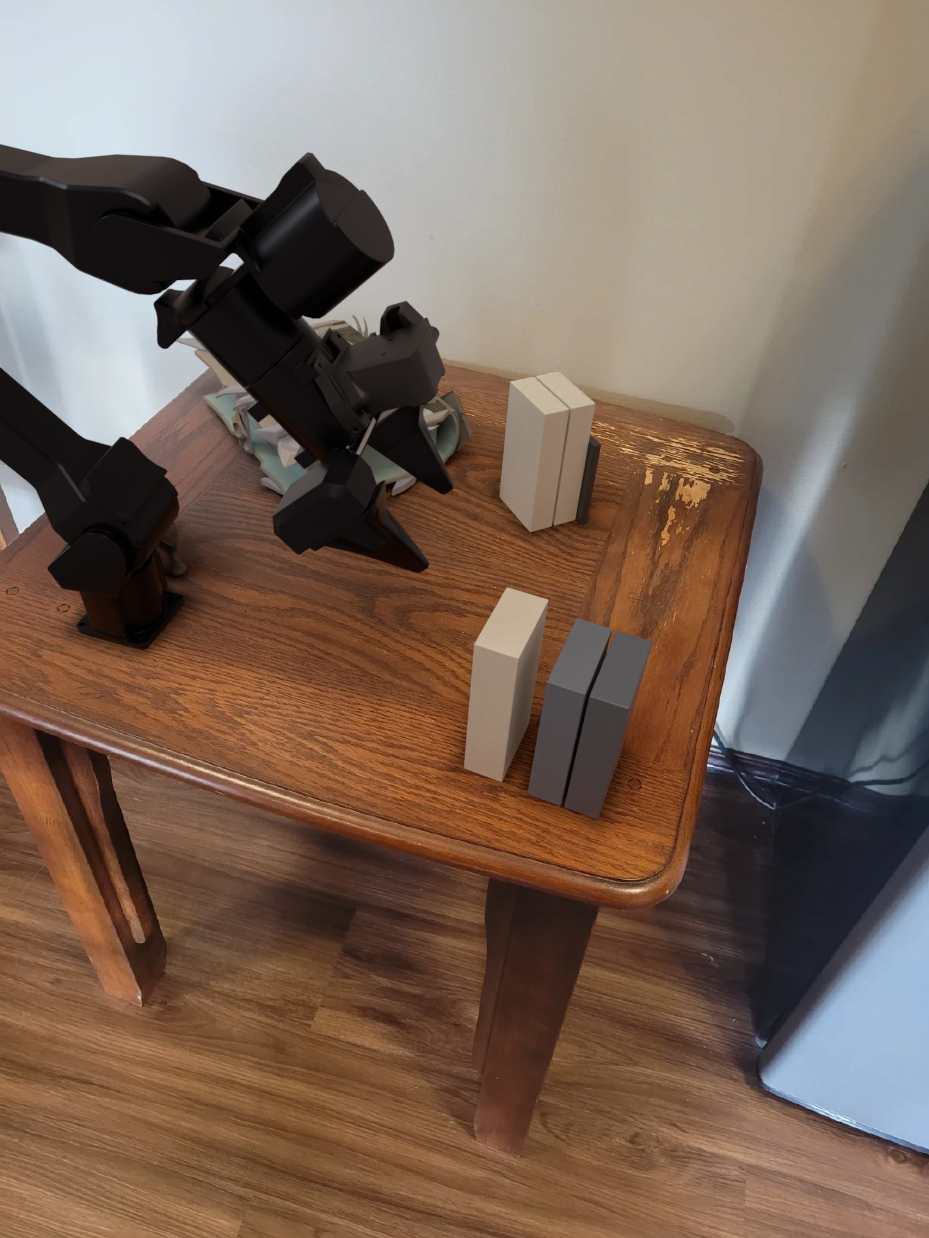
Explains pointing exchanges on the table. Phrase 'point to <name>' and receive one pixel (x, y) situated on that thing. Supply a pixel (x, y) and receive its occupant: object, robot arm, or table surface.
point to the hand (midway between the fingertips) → (437, 528)
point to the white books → (548, 452)
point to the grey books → (586, 716)
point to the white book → (503, 682)
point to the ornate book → (281, 448)
